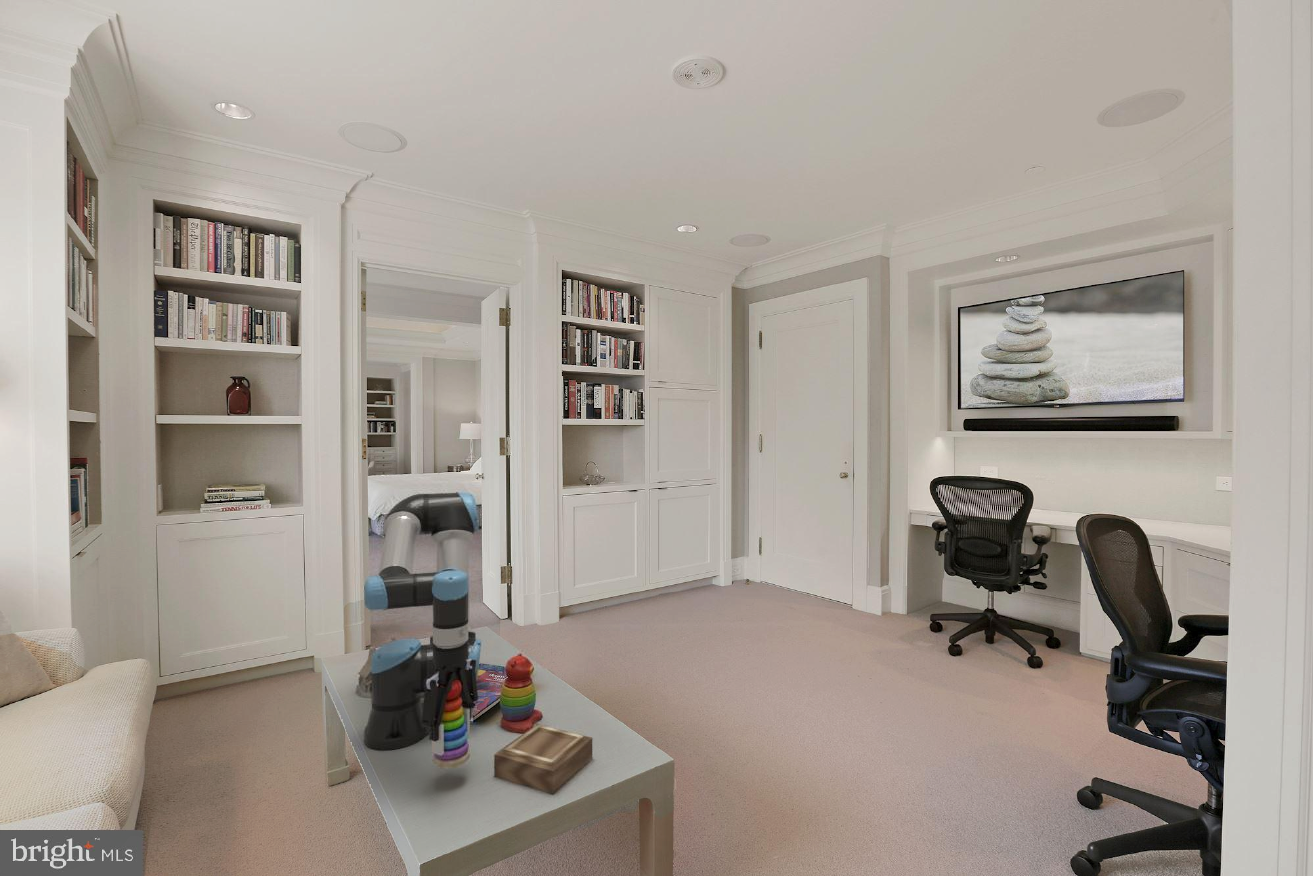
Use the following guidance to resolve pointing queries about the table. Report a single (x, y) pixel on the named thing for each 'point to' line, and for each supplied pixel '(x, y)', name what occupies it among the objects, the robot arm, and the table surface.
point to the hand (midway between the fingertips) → (451, 744)
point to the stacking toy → (453, 732)
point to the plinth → (543, 758)
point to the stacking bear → (518, 696)
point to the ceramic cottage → (367, 675)
